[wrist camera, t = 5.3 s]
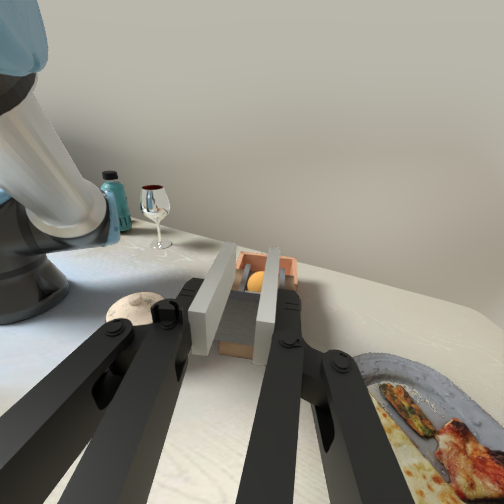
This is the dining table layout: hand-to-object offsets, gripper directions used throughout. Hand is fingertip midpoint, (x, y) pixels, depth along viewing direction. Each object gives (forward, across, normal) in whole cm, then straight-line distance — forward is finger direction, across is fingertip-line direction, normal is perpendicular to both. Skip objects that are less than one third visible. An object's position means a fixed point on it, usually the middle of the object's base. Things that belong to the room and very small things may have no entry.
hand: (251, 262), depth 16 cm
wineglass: (+49, -34, -28) cm, 66 cm away
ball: (+19, 0, -16) cm, 26 cm away
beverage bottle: (+55, -51, -28) cm, 80 cm away
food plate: (+5, +23, -28) cm, 37 cm away
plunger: (+11, 0, -18) cm, 22 cm away
